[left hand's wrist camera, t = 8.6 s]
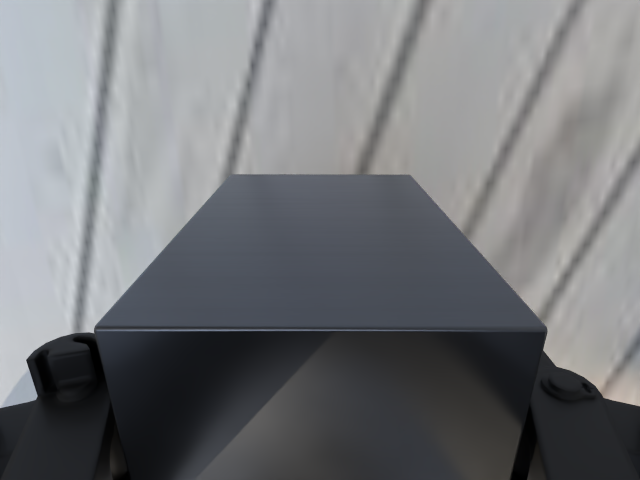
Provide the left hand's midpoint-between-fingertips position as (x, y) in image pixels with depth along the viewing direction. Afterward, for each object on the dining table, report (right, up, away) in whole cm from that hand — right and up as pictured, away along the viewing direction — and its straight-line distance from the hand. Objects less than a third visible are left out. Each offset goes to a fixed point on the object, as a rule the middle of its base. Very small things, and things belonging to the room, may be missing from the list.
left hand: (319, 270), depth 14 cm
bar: (0, -8, +4) cm, 8 cm away
